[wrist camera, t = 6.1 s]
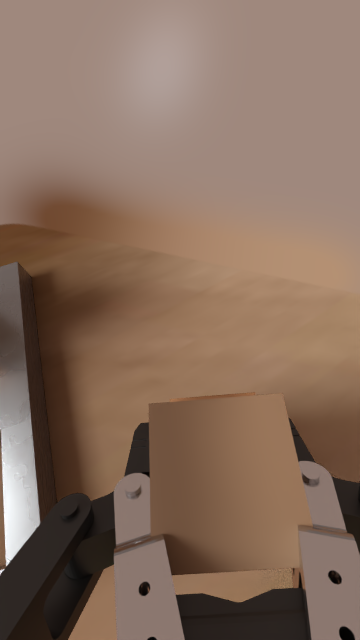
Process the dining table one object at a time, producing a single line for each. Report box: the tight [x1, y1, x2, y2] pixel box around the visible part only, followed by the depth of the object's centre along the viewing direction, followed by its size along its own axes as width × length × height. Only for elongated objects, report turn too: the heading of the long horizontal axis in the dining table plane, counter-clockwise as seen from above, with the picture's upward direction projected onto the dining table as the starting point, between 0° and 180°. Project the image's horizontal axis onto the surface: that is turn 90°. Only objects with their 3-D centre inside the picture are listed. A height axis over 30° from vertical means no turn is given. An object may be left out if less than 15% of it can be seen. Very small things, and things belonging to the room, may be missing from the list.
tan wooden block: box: [149, 392, 313, 575], centre depth 12 cm, size 4×4×10 cm
